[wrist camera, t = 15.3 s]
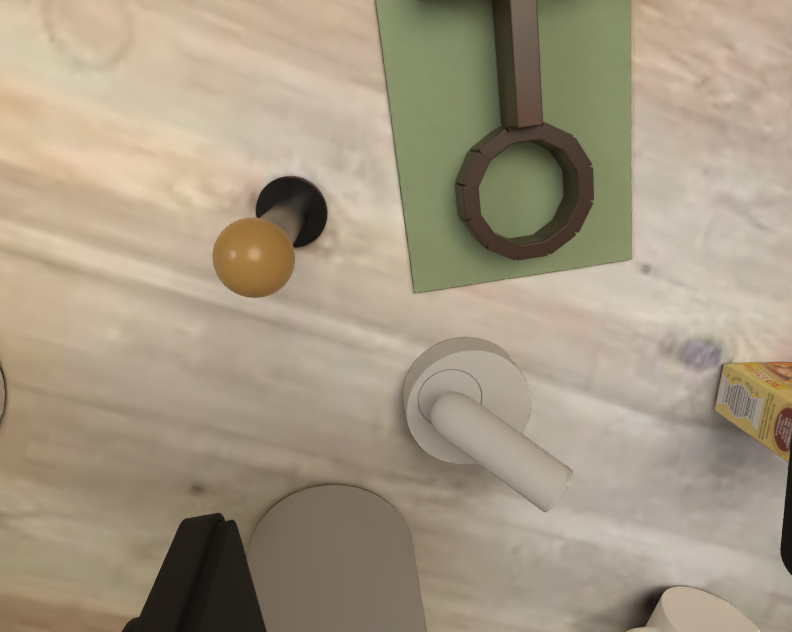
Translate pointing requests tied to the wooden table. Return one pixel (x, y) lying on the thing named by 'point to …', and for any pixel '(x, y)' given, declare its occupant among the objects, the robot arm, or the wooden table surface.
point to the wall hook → (480, 417)
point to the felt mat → (480, 114)
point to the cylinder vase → (335, 564)
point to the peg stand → (270, 237)
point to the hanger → (524, 124)
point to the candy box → (759, 402)
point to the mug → (695, 614)
